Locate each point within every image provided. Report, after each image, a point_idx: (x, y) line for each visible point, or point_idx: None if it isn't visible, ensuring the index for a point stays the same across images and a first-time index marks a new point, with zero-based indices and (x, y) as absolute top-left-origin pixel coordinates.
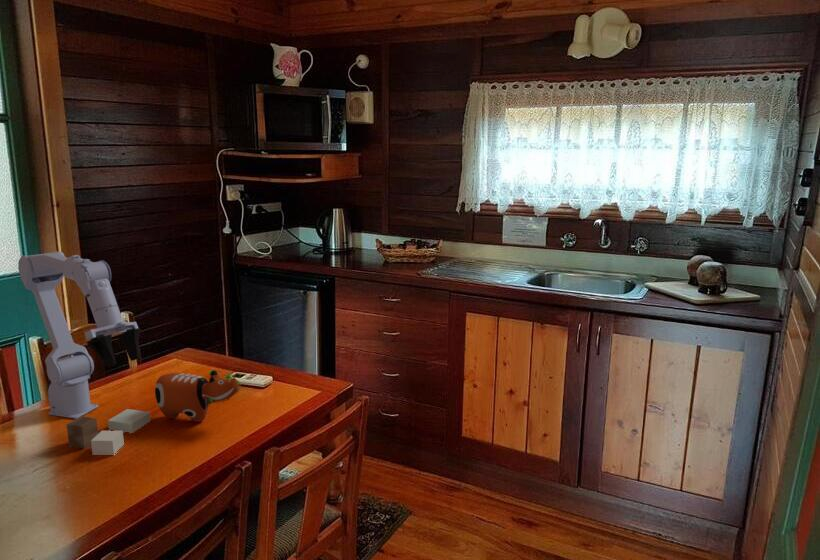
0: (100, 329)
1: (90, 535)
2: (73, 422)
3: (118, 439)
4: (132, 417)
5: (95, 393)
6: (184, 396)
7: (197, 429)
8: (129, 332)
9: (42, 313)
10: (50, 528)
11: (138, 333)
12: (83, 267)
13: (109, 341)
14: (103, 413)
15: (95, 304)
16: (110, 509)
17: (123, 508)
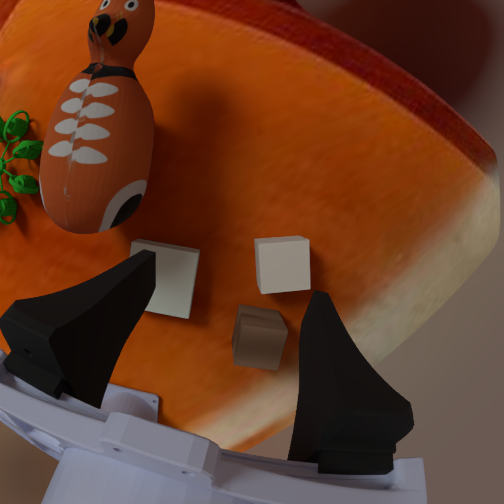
0: (368, 498)
1: (479, 159)
2: (268, 361)
3: (280, 240)
4: (165, 269)
5: None
6: (148, 112)
7: (169, 109)
8: (69, 367)
9: None
10: (473, 218)
11: (41, 304)
12: None
13: (357, 382)
14: (123, 360)
15: None
16: (442, 156)
17: (438, 139)
